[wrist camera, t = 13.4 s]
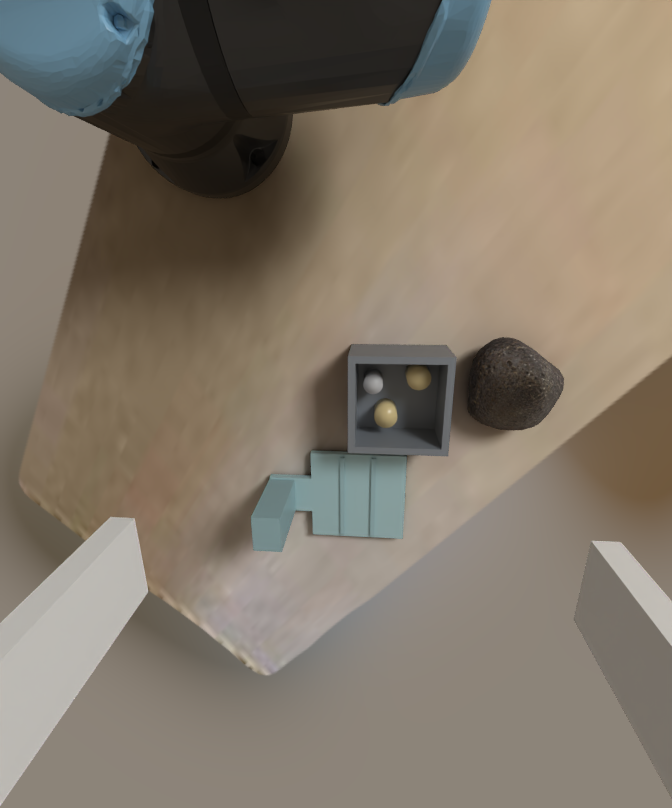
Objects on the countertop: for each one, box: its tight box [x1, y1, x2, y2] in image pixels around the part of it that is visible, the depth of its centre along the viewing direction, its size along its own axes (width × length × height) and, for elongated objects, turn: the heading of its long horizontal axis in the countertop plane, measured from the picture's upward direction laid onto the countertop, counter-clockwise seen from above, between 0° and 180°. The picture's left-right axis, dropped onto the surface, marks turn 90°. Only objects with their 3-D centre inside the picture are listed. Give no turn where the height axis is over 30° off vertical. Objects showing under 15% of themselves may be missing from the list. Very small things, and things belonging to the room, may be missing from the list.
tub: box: [348, 344, 456, 456], centre depth 44 cm, size 10×10×6 cm
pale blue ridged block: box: [251, 451, 407, 552], centre depth 47 cm, size 11×16×9 cm
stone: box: [468, 337, 564, 430], centre depth 43 cm, size 10×8×10 cm
